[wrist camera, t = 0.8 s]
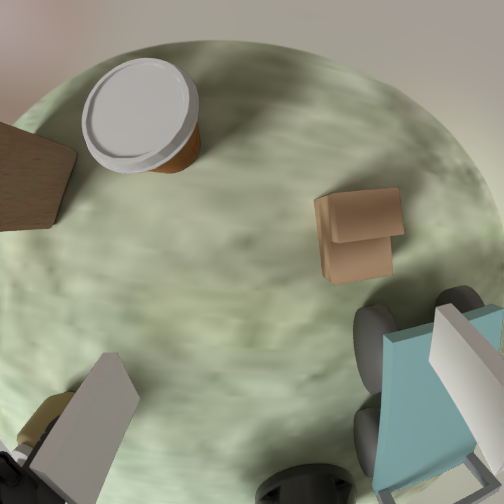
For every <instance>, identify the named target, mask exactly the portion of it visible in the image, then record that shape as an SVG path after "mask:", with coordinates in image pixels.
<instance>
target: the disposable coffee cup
mask: <svg viewBox="0 0 504 504" xmlns="http://www.w3.org/2000/svg"><path fill="white" fill-rule="evenodd" d="M198 115H199V97H198V92H197V89H196V86H195V84H194V82H193V80H192V79H191V78H190V76H189V75H188V74H187V73H186V72H185V71H184V70H183V69H182V68H180V67H178V66H176V65H175V64H172V63H170V62H167V61H163V60H160V59H155V58H139V59H134V60H131V61H127V62H125V63H123V64H120V65H118V66H116V67H115V68H113V69H112V70H110V71H109V72H108V73H106V74H105V75H104V76H103V77H102V78H101V79H100V80H99V81H98V82H97V84H96V85H95V86H94V88H93V89H92V91H91V92H90V94H89V96H88V98H87V100H86V103H85V106H84V109H83V114H82V131H83V136H84V139H85V141H86V144H87V147H88V149H89V151H90V153H91V154H92V156H93V157H94V158H95V159H96V160H97V162H98V163H100V164H101V165H102V166H104V167H105V168H107V169H110V170H112V171H114V172H119V173H124V174H135V173H142V172H146V171H151V172H161V173H176V172H179V171H182V170H184V169H185V168H187V167H188V166H189V165H190V164H191V163H192V162H193V161H194V160H195V159H196V157H197V155H198V152H199V149H200V136H199V130H198V122H197V119H198Z"/></svg>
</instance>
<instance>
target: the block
mask: <svg viewBox="0 0 504 504" xmlns="http://www.w3.org/2000/svg"><path fill="white" fill-rule="evenodd" d="M76 157H77V154H76V153H75V151H74V150H73V149H72V148H69V147H66V146H64V145H61V144H59V143H56V142H53V141H51V140H48V139H45V138H43V137H40V136H37V135H35V134H32V133H29V132H27V131H24V130H21V129H19V128H16V127H13V126H10V125H7V124H4V123H2V122H0V232H2V231H17V230H34V229H50V228H51V227H52V226H53V224H54V222H55V219H56V215H57V212H58V209H59V206H60V203H61V200H62V197H63V194H64V191H65V188H66V185H67V182H68V180H69V177H70V174H71V172H72V169H73V166H74V164H75V161H76Z"/></svg>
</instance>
